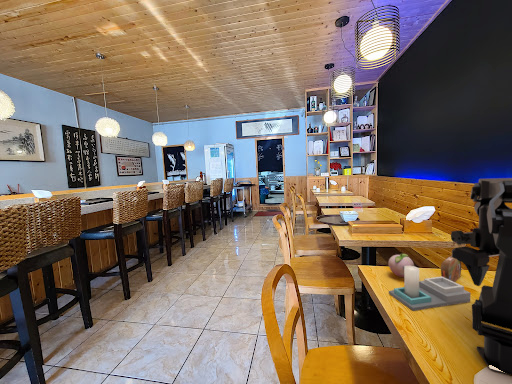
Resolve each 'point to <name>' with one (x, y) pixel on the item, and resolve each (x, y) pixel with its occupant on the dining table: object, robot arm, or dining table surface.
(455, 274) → the tin
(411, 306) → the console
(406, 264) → the decorative fruit
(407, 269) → the white rounded cylinder
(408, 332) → the dining table surface
